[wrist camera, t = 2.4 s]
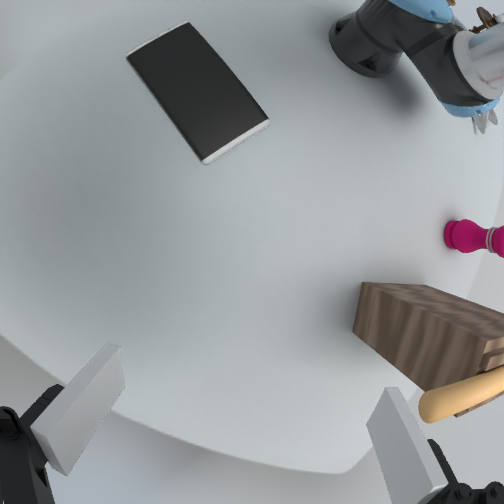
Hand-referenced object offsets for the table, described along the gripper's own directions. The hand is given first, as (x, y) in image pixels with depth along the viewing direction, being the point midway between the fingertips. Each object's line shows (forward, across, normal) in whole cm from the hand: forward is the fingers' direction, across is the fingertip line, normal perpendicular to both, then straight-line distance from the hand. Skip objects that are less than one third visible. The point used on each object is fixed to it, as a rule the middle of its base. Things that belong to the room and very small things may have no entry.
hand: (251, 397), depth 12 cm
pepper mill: (+45, +42, +8) cm, 62 cm away
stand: (+40, +28, -9) cm, 50 cm away
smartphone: (+37, -16, +25) cm, 47 cm away
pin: (+10, +28, -5) cm, 30 cm away
